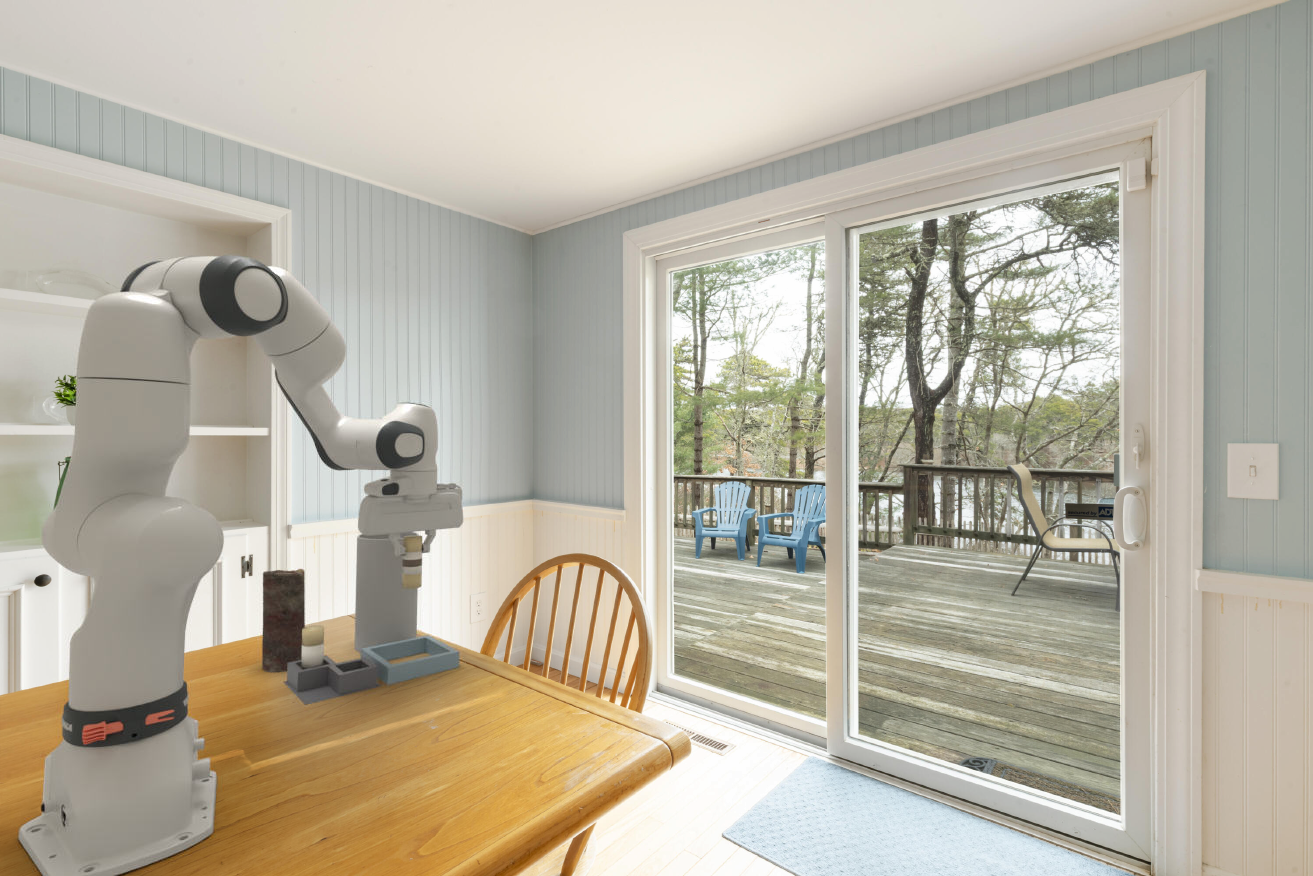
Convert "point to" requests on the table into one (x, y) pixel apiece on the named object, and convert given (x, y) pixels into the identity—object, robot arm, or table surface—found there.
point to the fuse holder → (331, 679)
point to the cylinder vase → (382, 594)
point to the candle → (282, 618)
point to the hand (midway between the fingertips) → (412, 554)
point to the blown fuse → (412, 562)
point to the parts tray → (390, 674)
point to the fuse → (312, 647)
